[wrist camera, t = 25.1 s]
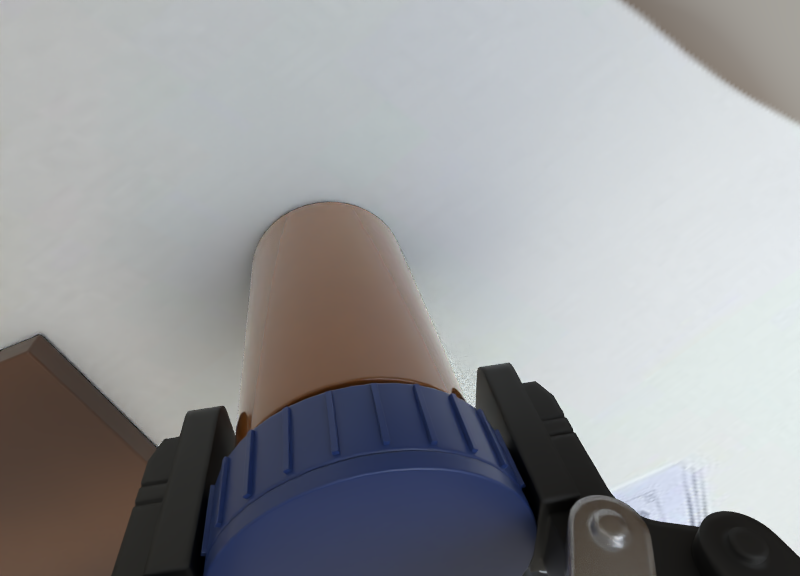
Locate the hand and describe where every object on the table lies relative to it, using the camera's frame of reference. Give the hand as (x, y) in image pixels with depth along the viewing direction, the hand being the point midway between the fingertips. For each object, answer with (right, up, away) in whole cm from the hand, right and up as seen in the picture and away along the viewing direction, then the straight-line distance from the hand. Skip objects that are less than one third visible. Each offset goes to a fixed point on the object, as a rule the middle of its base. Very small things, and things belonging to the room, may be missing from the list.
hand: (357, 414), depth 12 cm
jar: (-2, +3, +6) cm, 7 cm away
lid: (+1, -2, -3) cm, 3 cm away
